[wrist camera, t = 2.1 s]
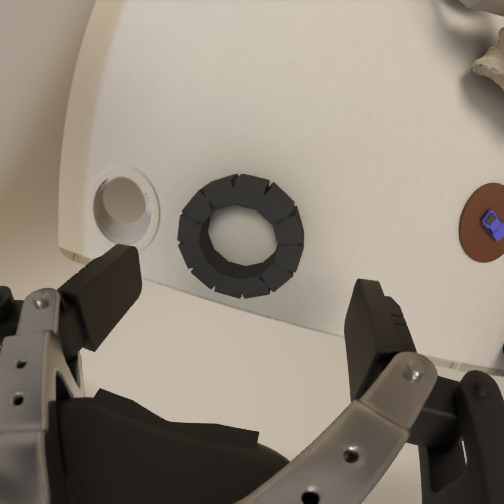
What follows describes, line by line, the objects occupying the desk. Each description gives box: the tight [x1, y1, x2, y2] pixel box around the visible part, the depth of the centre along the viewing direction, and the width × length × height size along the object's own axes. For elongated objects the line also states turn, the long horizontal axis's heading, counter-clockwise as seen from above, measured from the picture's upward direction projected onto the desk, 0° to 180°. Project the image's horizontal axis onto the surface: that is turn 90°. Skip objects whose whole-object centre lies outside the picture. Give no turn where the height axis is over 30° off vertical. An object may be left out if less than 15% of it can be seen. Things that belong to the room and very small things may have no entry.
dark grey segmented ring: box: [177, 174, 304, 299], centre depth 25 cm, size 10×10×2 cm
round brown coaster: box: [459, 183, 504, 262], centre depth 21 cm, size 8×8×2 cm
